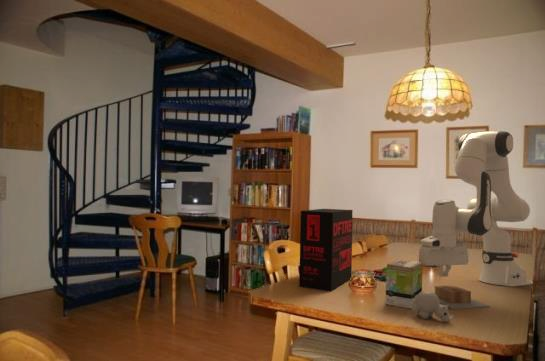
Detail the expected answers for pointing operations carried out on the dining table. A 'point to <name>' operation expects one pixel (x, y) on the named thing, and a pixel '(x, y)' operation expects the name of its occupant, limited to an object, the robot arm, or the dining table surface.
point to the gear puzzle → (380, 274)
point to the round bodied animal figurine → (430, 306)
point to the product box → (325, 248)
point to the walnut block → (453, 294)
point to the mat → (463, 304)
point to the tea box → (403, 282)
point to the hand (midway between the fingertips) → (443, 276)
